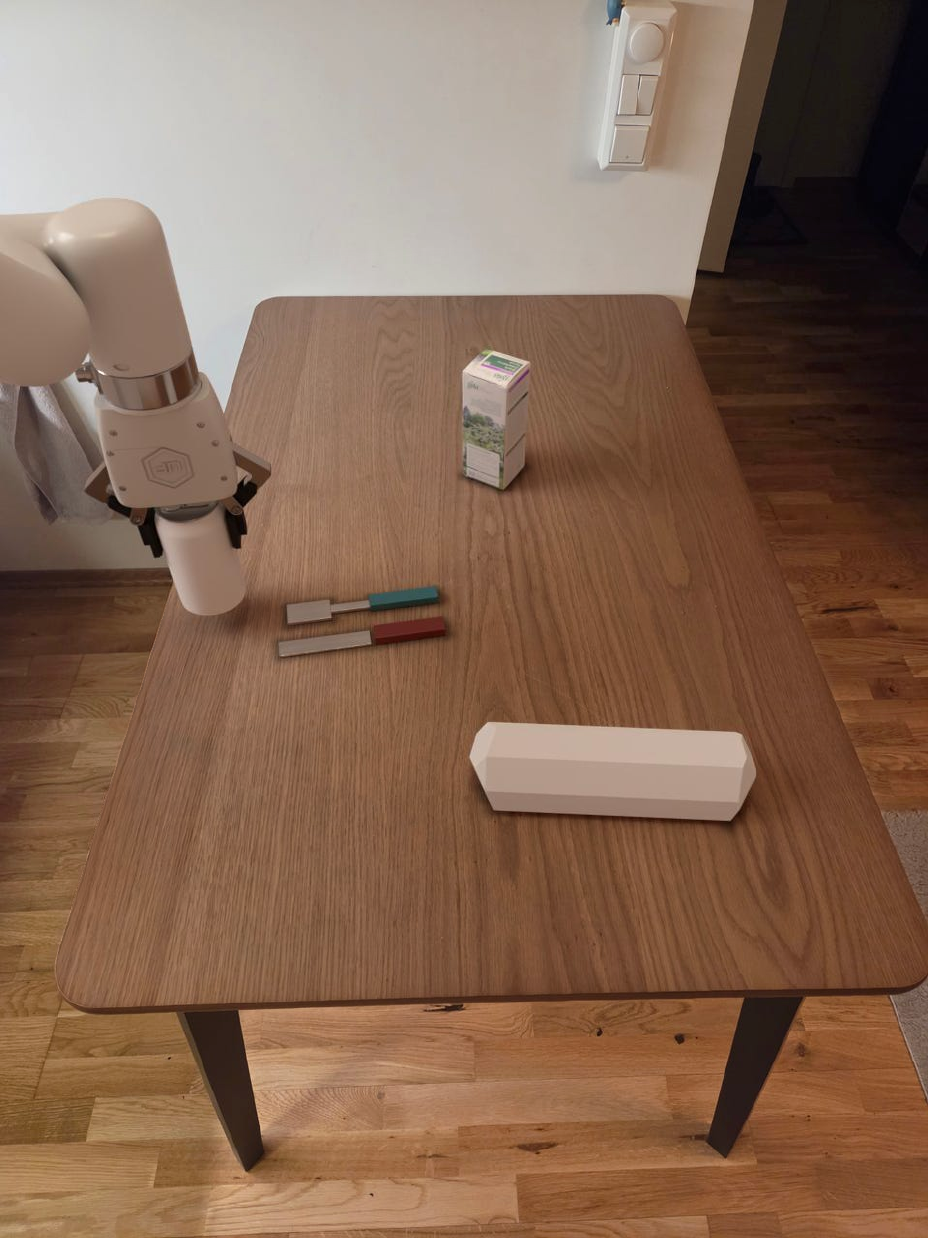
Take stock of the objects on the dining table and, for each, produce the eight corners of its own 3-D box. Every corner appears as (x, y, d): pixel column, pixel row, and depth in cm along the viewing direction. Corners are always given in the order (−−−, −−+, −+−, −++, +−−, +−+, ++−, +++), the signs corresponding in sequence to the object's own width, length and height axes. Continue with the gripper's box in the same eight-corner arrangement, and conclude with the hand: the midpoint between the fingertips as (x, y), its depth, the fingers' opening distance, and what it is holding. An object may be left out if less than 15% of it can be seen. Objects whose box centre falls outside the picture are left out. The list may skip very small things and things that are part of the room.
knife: (279, 657, 84) (278, 651, 83) (278, 644, 85) (277, 637, 84) (445, 635, 86) (445, 629, 85) (442, 622, 87) (442, 615, 86)
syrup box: (525, 466, 104) (533, 358, 93) (502, 493, 101) (507, 384, 90) (485, 451, 106) (487, 344, 95) (460, 477, 103) (460, 369, 92)
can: (178, 579, 87) (147, 485, 78) (243, 566, 88) (219, 473, 79) (183, 625, 83) (151, 531, 74) (251, 611, 84) (227, 517, 75)
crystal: (747, 708, 75) (472, 697, 76) (772, 744, 68) (469, 731, 69) (736, 784, 77) (469, 772, 78) (759, 826, 70) (466, 813, 71)
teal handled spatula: (288, 625, 86) (286, 619, 86) (287, 607, 88) (285, 601, 88) (439, 606, 88) (439, 600, 88) (435, 588, 90) (435, 582, 89)
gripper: (24, 410, 64) (98, 582, 77) (261, 389, 66) (294, 560, 79) (40, 357, 69) (107, 527, 82) (260, 339, 71) (291, 508, 84)
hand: (198, 542), depth 80 cm, fingers closed on can, 6 cm apart
